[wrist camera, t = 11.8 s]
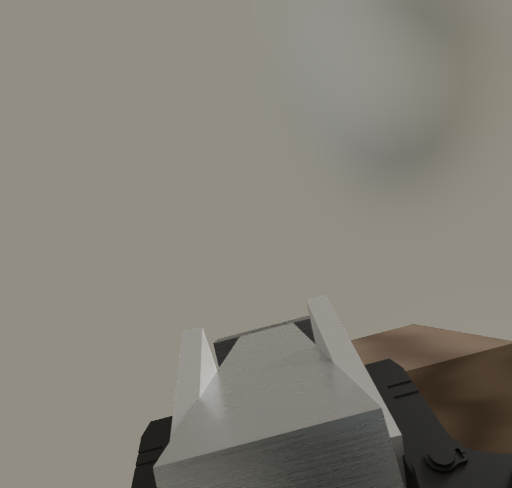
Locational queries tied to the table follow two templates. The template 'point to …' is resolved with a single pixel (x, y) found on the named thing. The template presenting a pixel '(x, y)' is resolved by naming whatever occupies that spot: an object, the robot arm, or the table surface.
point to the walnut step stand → (454, 379)
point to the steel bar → (280, 421)
